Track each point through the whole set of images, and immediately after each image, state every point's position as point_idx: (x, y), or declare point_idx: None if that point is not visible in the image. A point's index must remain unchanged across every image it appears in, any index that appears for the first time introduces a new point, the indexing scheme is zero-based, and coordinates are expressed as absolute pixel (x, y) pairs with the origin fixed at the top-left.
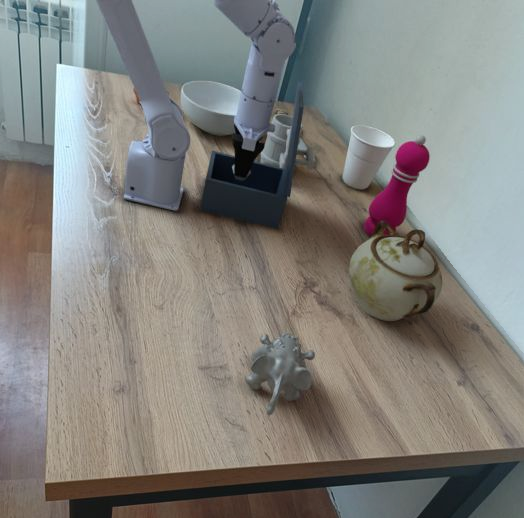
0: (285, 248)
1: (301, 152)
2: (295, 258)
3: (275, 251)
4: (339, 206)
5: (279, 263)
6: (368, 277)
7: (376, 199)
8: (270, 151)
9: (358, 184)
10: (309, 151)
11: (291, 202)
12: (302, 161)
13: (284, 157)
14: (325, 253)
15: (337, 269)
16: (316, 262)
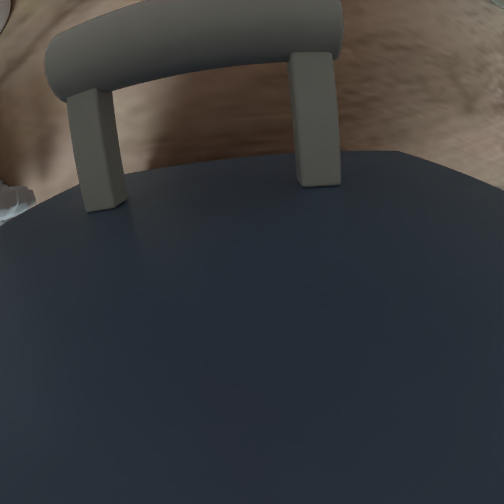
0: (432, 137)
1: (104, 131)
2: (459, 113)
3: (454, 167)
4: (99, 4)
5: (489, 159)
6: None
7: None
8: None
9: (4, 5)
10: (112, 49)
11: (145, 132)
12: (335, 98)
13: (2, 216)
14: (396, 24)
15: (442, 12)
16: (447, 57)
